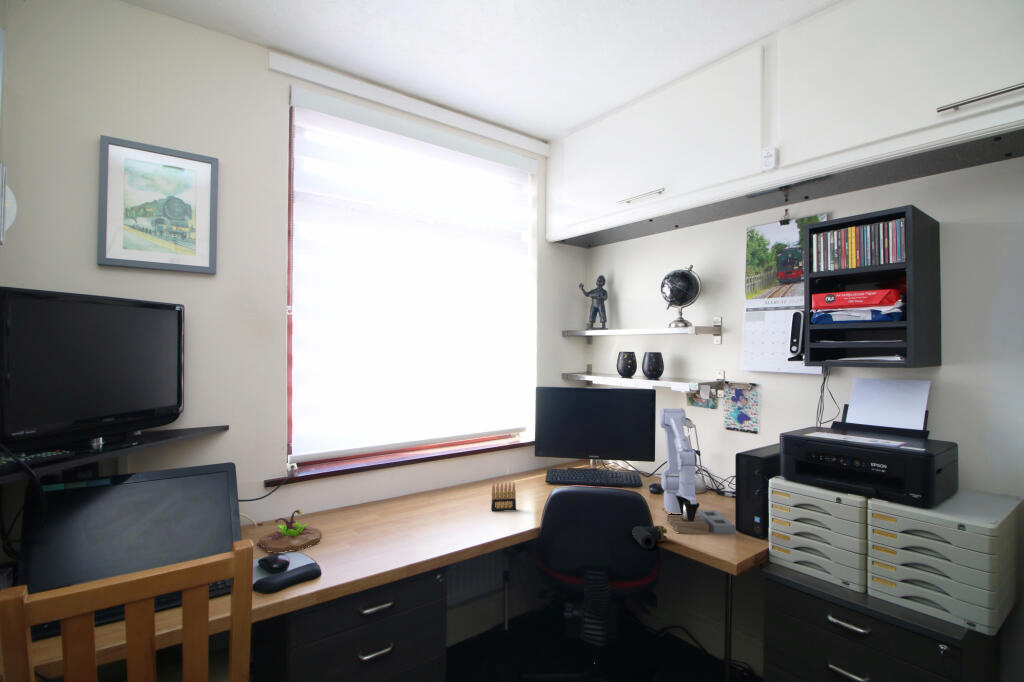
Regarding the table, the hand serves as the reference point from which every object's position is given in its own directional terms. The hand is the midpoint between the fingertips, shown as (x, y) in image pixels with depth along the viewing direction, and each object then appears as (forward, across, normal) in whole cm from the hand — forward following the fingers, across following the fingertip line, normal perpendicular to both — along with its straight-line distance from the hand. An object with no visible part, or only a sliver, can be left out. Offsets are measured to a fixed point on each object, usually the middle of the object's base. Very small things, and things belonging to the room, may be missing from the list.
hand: (687, 517), depth 192 cm
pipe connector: (+5, +13, -18) cm, 23 cm away
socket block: (+4, 0, 0) cm, 4 cm away
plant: (+5, +15, -147) cm, 148 cm away
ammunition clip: (+4, -21, -72) cm, 75 cm away
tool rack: (+4, -3, +12) cm, 13 cm away
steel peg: (+4, 0, 0) cm, 4 cm away
